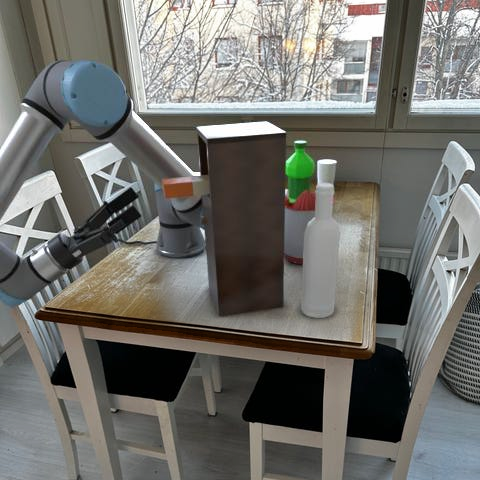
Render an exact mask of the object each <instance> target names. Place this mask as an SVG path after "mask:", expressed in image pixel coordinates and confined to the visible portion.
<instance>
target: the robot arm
mask: <svg viewBox="0 0 480 480" xmlns="http://www.w3.org/2000/svg"><path fill="white" fill-rule="evenodd" d="M126 91H127V89H126V85H125V84H124V82H123V81H122V78H121V77H120V76H119V74H118V73H117V72H116V71H114V70H113V69H112V68H111V67H110V66H108V65H106V64H103V63H101V62H98V61H95V60H89V59H83V60H66V59H65V60H56V61H53V62H51V63H49V64H48V65H47V66H46V67H45V68H43V69H42V71H40V73H39V74H38V76H37V77H36V79H35V80H34V81H33V83H32V85H31V86H30V88H29V89H28V90H27V93H26V94H25V96H24V97H23V99H22V100H21V102H20V104H19V106H20V110H21V113H20V115H19V116H18V118H17V119H16V121H15V123H14V124H13V126H12V127H11V129H10V131H9V132H8V133H7V136H6V137H5V139H4V141H3V142H2V144H1V145H0V221H1V220H2V219H3V218H4V216H5V214H6V212H7V211H8V209H9V207H10V206H11V204H12V203H13V201H14V199H15V198H16V197H17V196H18V195H17V194H18V193H19V191H20V190H21V189H22V186H23V185H24V184H25V182H26V180H27V179H28V177H29V175H30V174H31V172H32V170H33V169H34V168H35V165H37V163H38V161H39V159H40V158H41V156H42V155H43V153H44V151H45V150H46V148H47V146H48V144H49V143H50V142H51V140H52V138H53V137H54V136H55V135H58V134H61V133H62V132H63V130H64V128H65V127H66V126H67V125H68V124H69V123H70V122H71V121H74V122H76V123H77V124H78V125H79V126H81V128H83V129H84V130H85V131H86V132H87V133H88V134H90V135H91V136H92V137H93V138H94V139H95V140H96V141H98V142H104V141H106V142H107V141H108V142H109V143H110V144H111V145H112V146H114V147H115V148H116V149H117V150H118V151H119V152H120V153H121V154H122V155H124V156H125V158H127V159H128V160H129V161H130V162H131V163H133V164H134V166H136V167H137V168H138V169H139V170H140V171H141V172H142V173H143V174H145V175H146V176H147V177H148V178H149V179H150V180H151V181H152V182H153V183H154V193H155V194H154V195H155V200H156V209H157V214H158V223H159V229H158V234H157V238H156V240H153V241H142V240H134V241H127V240H124V239H122V238H118V236H117V235H118V234H119V233H121V232H122V231H123V230H125V229H126V228H128V227H129V226H130V225H132V224H133V223H135V222H136V221H138V220H139V219H141V218H142V214H141V213H140V211H139V210H138V209H137V208H136V207H135V205H134V204H132V203H133V202H134V201H136V200H137V199H139V198H140V196H139V195H138V194H137V192H136V191H135V190H134V188H133V187H132V186H130V187H128V188H127V189H125V190H124V191H123V192H122V193H120V194H119V195H117V196H116V197H115V198H113V199H112V200H111V201H109V202H108V200H104V201H103V202H102V205H100V206H99V207H98V208H97V209H96V210H95V211H93V213H91V214H90V215H89V216H88V217H87V218H85V220H84V221H82V222H81V223H80V224H79V225H78V226H76V227H75V228H74V229H73V234H72V236H68V235H67V234H65V233H62V232H60V233H57V234H56V235H55V236H54V237H52V238H50V239H48V241H47V243H45V244H43V245H41V246H40V247H38V249H37V248H32V250H31V252H32V253H30V254H29V255H28V256H26V257H24V258H22V257H21V256H20V255H18V253H16V252H14V251H13V250H11V248H9V247H8V246H7V245H5V244H4V242H2V241H0V302H1V303H2V304H4V305H5V306H8V307H10V308H15V307H19V306H21V305H23V304H24V303H26V302H27V301H30V300H32V299H33V297H35V296H36V295H37V294H38V293H40V292H42V291H43V290H44V289H45V288H47V287H48V286H49V285H51V284H52V283H53V282H56V281H57V280H58V279H60V278H62V277H63V276H64V275H66V274H68V272H69V270H72V269H74V268H75V267H77V266H78V265H79V264H81V263H82V262H83V260H84V257H85V256H87V255H89V254H90V253H93V252H95V251H97V250H99V249H101V248H103V247H105V246H107V245H109V244H112V242H113V243H115V244H117V243H118V242H121V243H123V244H125V245H136V244H141V245H144V246H145V245H153V244H156V252H157V253H158V254H159V255H160V256H163V257H166V258H170V259H171V258H172V259H179V258H181V259H182V258H188V257H192V256H193V257H194V256H196V255H198V254H201V253H202V252H203V251H205V250H206V243H205V236H204V234H203V232H202V230H203V231H205V230H204V225H202V224H201V219H200V218H201V217H203V204H202V195H198V196H187V197H177V198H167V199H166V198H165V195H164V192H163V183H162V179H169V178H179V177H190V176H200V172H197V171H196V172H193V171H192V170H191V169H190V168H189V166H187V164H186V163H184V162H183V160H181V159H180V158H179V156H178V155H176V153H175V152H174V151H173V150H171V148H170V147H169V146H168V145H166V143H165V142H164V141H163V140H162V139H161V138H160V137H159V136H158V135H157V134H156V133H155V132H154V131H153V130H152V129H151V128H150V127H149V126H148V124H146V123H145V122H144V121H143V120H142V118H140V116H138V115H137V114H136V113H135V111H134V103H133V100H132V99H131V98H130V97H129V96H128V94H127V92H126ZM130 204H132V205H131V206H129V205H130ZM128 206H129V207H128ZM127 207H128V208H127ZM125 208H126V209H125ZM123 209H125V210H123ZM122 210H123V211H122ZM121 211H122V212H121ZM119 212H121V213H119ZM118 213H119V214H118ZM114 214H118V215H116V216H115V217H114V218H112V219H111V220H109V219H110V218H111V217H112V216H113V215H114ZM108 220H109V221H108ZM107 221H108V222H107ZM106 222H107V223H106ZM105 223H106V225H105ZM104 225H105V226H104Z"/></svg>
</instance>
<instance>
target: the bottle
mask: <svg viewBox="0 0 480 480" xmlns="http://www.w3.org/2000/svg"><path fill="white" fill-rule="evenodd" d="M314 193H315V194H316V203H315V217H314V218H313V219H312V220H311V221H310V222H308V225H307V227H306V230H305V233H304V253H303V264H302V276H301V277H302V278H301V279H302V280H301V282H302V284H301V298H300V299H301V300H300V305H301V306H300V308H301V309H300V310H301V312H302V313H303V314H304V315H305V316H307V317H310V318H314V319H324V318H328V317H330V316H331V315H333V314H334V312H335V304H336V289H337V278H338V277H337V276H338V266H339V255H340V241H341V230H340V226H339V223H338V222H337V221H336V220H335V219H334V217H333V218H332V207H333V199H334V195H335V185H332V184H330V183H320V184H318V183H317V184H316V187H315V191H314ZM333 208H334V207H333Z"/></svg>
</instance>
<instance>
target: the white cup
mask: <svg viewBox="0 0 480 480" xmlns="http://www.w3.org/2000/svg"><path fill="white" fill-rule="evenodd" d="M337 163H338V162H337V160H335V159H329V158H327V159H319V160H317V167H316V168H317V173H316V174H317V185H318V184H320V183H330V184H332V185H333V186H335V185H334V183H335V177H336V171H337Z"/></svg>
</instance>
